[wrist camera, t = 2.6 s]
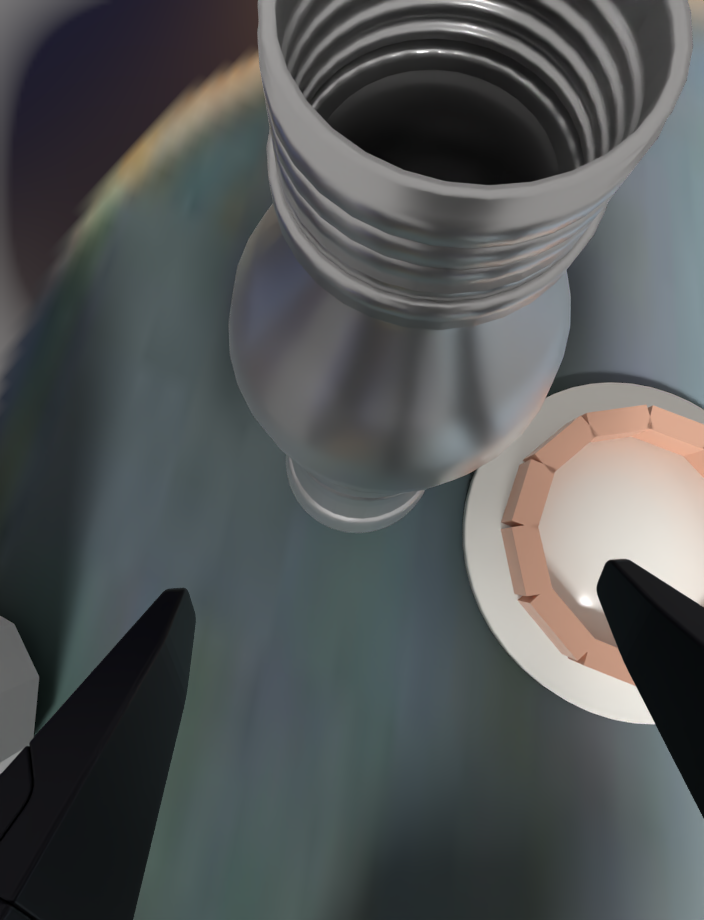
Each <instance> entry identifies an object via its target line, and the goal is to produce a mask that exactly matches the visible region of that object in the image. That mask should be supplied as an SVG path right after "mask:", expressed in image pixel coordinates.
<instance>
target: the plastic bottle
mask: <svg viewBox="0 0 704 920" xmlns="http://www.w3.org/2000/svg"><path fill="white" fill-rule="evenodd" d="M258 14H259V27H258V48H259V65H260V71H261V77H262V83H263V88H264V94H265V101H266V107H267V113H268V119H269V125H270V131H269V137H268V143H267V161H268V178H269V183H270V189H271V194H272V199H273V204H272V205H271V207H270V208H269V209H268V211H267V212H266V213H265V215H264V216H263V218H262V219H261V221H260V222H259V224H258V225H257V227H256V228H255V230H254V231H253V233H252V234H251V236H250V238H249V239H248V242H247V244H246V247H245V249H244V252H243V254H242V257H241V259H240V262H239V264H238V267H237V272H236V278H235V284H234V290H233V295H232V302H231V309H230V317H229V348H230V358H231V361H232V365H233V369H234V373H235V377H236V381H237V385H238V387H239V389H240V391H241V393H242V395H243V397H244V399H245V401H246V403H247V405H248V407H249V409H250V411H251V413H252V415H253V416H254V417H255V419H256V420H257V421H258V422H259V424H260V425H261V426H262V427H263V429H264V430H265V431H266V432H267V434H268V435H269V436H270V437H271V439H272V440H273V441H274V442H275V443H276V445H277V446H278V447H279V448H280V449H281V450H282V451H283V452H284V453H285V454H286V470H287V476H288V480H289V484H290V488H291V490H292V491H293V493H294V495H295V497H296V499H297V501H298V502H299V504H300V505H301V506H302V507H303V509H304V510H305V511H306V512H307V513H308V514H309V515H311V516H312V517H313V518H314V519H315V520H317V521H318V522H320V523H322V524H324V525H326V526H328V527H329V528H332V529H336V530H339V531H343V532H351V533H364V532H372V531H376V530H379V529H382V528H385V527H388V526H390V525H391V524H393V523H395V522H397V521H398V520H400V519H402V518H403V517H404V516H405V515H406V514H407V513H408V512H410V511H411V510H412V509H413V508H414V506H415V505H416V504H417V502H418V501H419V500H420V498H421V497H422V495H423V493H424V491H425V489H428V488H431V487H434V486H437V485H440V484H443V483H446V482H449V481H452V480H455V479H457V478H459V477H462V476H465V475H467V474H469V473H471V472H473V471H474V470H476V469H478V468H479V467H481V466H483V465H485V464H486V463H488V462H490V461H492V460H493V459H495V458H496V457H498V456H499V455H500V454H501V453H502V452H503V451H504V450H505V449H507V448H508V447H509V446H510V445H511V444H512V443H513V442H514V441H516V440H517V439H518V438H519V437H520V436H521V435H522V434H523V432H524V431H525V430H526V428H527V427H528V425H529V424H530V423H531V421H532V420H533V419H534V417H535V416H536V415H537V413H538V412H539V411H540V409H541V407H542V405H543V402H544V400H545V398H546V396H547V394H548V391H549V389H550V387H551V385H552V383H553V381H554V378H555V376H556V374H557V371H558V369H559V366H560V364H561V362H562V359H563V357H564V353H565V348H566V344H567V339H568V335H569V330H570V318H571V294H570V288H569V281H568V275H567V269H568V267H569V266H570V265H571V264H572V262H573V261H574V260H575V259H576V257H577V256H578V255H579V253H580V252H581V251H582V250H583V248H584V247H585V246H586V245H587V243H588V242H589V241H590V239H591V238H592V237H593V236H594V233H595V231H596V229H597V227H598V225H599V223H600V221H601V219H602V217H603V214H604V212H605V210H606V208H607V203H608V201H609V200H610V199H611V197H612V196H613V195H614V193H615V192H616V191H617V190H618V188H619V187H620V186H621V184H622V183H623V182H624V181H625V179H626V178H627V177H628V176H629V174H630V173H631V172H632V170H633V169H634V168H635V166H636V165H637V164H638V163H639V161H640V160H641V159H642V157H643V156H644V155H645V154H646V152H647V151H648V150H649V149H650V147H651V146H652V145H653V144H654V142H655V141H656V140H657V139H658V137H659V135H660V133H661V131H662V128H663V126H664V124H665V122H666V120H667V118H668V117H669V115H670V114H671V113H672V111H673V109H674V107H675V104H676V102H677V100H678V98H679V96H680V94H681V91H682V89H683V87H684V85H685V83H686V81H687V76H688V70H689V65H690V60H691V54H692V49H693V37H692V20H691V10H690V7H689V4H688V0H258Z"/></svg>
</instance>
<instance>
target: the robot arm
mask: <svg viewBox="0 0 704 920" xmlns="http://www.w3.org/2000/svg"><path fill="white" fill-rule="evenodd" d="M596 591H597V596H598V599H599V601H600V604H601V606H602V609H603V611H604V614H605V616H606V619H607V622H608V624H609V627H610V629H611V632H612V634H613V637H614V639H615V642H616V645H617V647H618V650H619V652H620V654H621V657H622V659H623V662H624V664H625V666H626V668H627V670H628V672H629V674H630V676H631V678H632V680H633V682H634V684H635V686H636V687H637V689H638V691H639V693H640V695H641V697H642V699H643V701H644V703H645V705H646V707H647V709H648V711H649V713H650V715H651V717H652V719H653V721H654V723H655V724H656V726H657V728H658V730H659V732H660V734H661V736H662V738H663V740H664V742H665V744H666V746H667V748H668V750H669V752H670V754H671V756H672V758H673V760H674V762H675V763H676V765H677V767H678V769H679V771H680V773H681V775H682V777H683V779H684V781H685V783H686V785H687V787H688V789H689V791H690V793H691V795H692V797H693V799H694V800H695V802H696V804H697V806H698V808H699V810H700V812H701V814H702V816H703V818H704V607H703V606H701V605H700V604H698V603H697V602H695V601H693V600H692V599H690V598H689V597H687V596H686V595H684V594H683V593H681V592H679V591H678V590H676V589H675V588H673V587H672V586H670V585H668V584H667V583H665V582H664V581H662V580H661V579H659V578H657V577H656V576H654V575H653V574H651V573H650V572H648V571H647V570H645V569H643V568H642V567H640V566H639V565H637V564H636V563H634V562H632V561H631V560H628V559H611V560H608V561H607V562H606V563H605V565H604V568H603V570H602V573H601V575H600V578H599V580H598V583H597V587H596ZM195 623H196V616H195V611H194V608H193V605H192V602H191V599H190V595H189V592H188V590H187V589H186V588H173V589H167V590H165V591H164V592H163V593H162V594H161V595H160V596H159V597H158V598H157V600H156V601H155V602H154V603H153V604H152V605H151V606H150V607H149V608H148V610H147V611H146V612H145V613H144V614H143V615H142V616H141V617H140V619H139V620H138V621H137V622H136V623H135V624H134V625H133V626H132V628H131V629H130V630H129V631H128V632H127V633H126V634H125V635H124V637H123V638H122V639H121V640H120V641H119V642H118V643H117V644H116V646H115V647H114V648H113V649H112V650H111V651H110V652H109V653H108V655H107V656H106V657H105V658H104V659H103V660H102V661H101V662H100V663H99V665H98V666H97V667H96V668H95V669H94V670H93V671H92V672H91V674H90V675H89V676H88V677H87V678H86V679H85V680H84V681H83V683H82V684H81V685H80V686H79V687H78V688H77V689H76V690H75V692H74V693H73V694H72V695H71V696H70V697H69V698H68V699H67V701H66V702H65V703H64V704H63V705H62V706H61V707H60V708H59V710H58V711H57V712H56V713H55V714H54V715H53V716H52V717H51V718H50V720H49V721H48V722H47V723H46V724H45V725H44V726H43V727H42V729H41V730H40V731H39V732H38V733H37V734H36V735H35V736H34V738H33V739H32V740H31V741H30V743H29V746H26V747H24V749H23V750H22V751H21V752H20V753H19V754H18V755H17V756H16V758H15V759H14V760H13V761H12V762H11V763H10V764H9V765H8V767H7V768H6V769H5V770H4V771H3V772H2V773H1V774H0V920H133V918H134V913H135V909H136V905H137V901H138V897H139V893H140V888H141V884H142V880H143V876H144V872H145V868H146V863H147V859H148V855H149V851H150V847H151V843H152V838H153V834H154V830H155V826H156V822H157V817H158V813H159V809H160V805H161V801H162V797H163V792H164V788H165V784H166V780H167V776H168V772H169V767H170V763H171V759H172V755H173V751H174V747H175V742H176V738H177V734H178V730H179V726H180V721H181V717H182V713H183V709H184V704H185V700H186V694H187V687H188V680H189V672H190V664H191V656H192V648H193V640H194V632H195Z"/></svg>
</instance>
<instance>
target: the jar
mask: <svg viewBox="0 0 704 920" xmlns="http://www.w3.org/2000/svg"><path fill="white" fill-rule="evenodd" d="M38 685H39V675H38V673H37V671H36V669H35V667H34V665H33V663H32V660H31V658H30V656H29V654H28V652H27V650H26V648H25V646H24V643H23V641H22V639H21V637H20V635H19V633H18V631H17V629H16V626H15V624H13V623H12V622H10V621H8V620H7V619H5V618H3V617H2V616H0V774H1V773H2V772H3V771H4V770H5V769H6V768H7V767H8V765H9V764H10V763H11V762H12V761H13V760H14V759H15V758H16V756H17V755H18V754H19V753H20V752H21V751H22V750H23V749H24V747H26V746H29V743H30V741H31V740H32V739H33V738H34V727H35V717H36V706H37V696H38Z"/></svg>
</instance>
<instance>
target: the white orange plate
mask: <svg viewBox="0 0 704 920" xmlns="http://www.w3.org/2000/svg"><path fill="white" fill-rule="evenodd" d="M462 545H463V553H464V561H465V567H466V571H467V575H468V579H469V583H470V587H471V590H472V592H473V595H474V597H475V600H476V603H477V605H478V608H479V610H480V612H481V614H482V616H483V617H484V619H485V621H486V623H487V625H488V627H489V628H490V630H491V632H492V633H493V635H494V636H495V637H496V639H497V640H498V642H499V643H500V644H501V646H502V647H503V649H504V650H505V651H506V652H507V653H508V654H509V655H510V657H511V658H512V659H513V660H514V661H515V662H516V663H517V664H518V665H519V666H520V667H521V668H522V669H523V670H524V671H525V672H526V673H528V674H529V675H530V676H531V677H532V678H534V679H535V680H536V681H537V682H538V683H540V684H541V685H543V686H544V687H546V688H547V689H549V690H550V691H552V692H553V693H555V694H556V695H558V696H559V697H561V698H563V699H564V700H566V701H568V702H570V703H572V704H574V705H576V706H578V707H580V708H582V709H584V710H586V711H588V712H591V713H594V714H597V715H600V716H603V717H606V718H609V719H613V720H618V721H624V722H629V723H635V724H655V723H654V721H653V719H652V717H651V715H650V713H649V711H648V709H647V707H646V705H645V703H644V701H643V699H642V697H641V695H640V693H639V691H638V689H637V687H636V686H635V684H634V682H633V680H632V678H631V676H630V674H629V672H628V670H627V668H626V666H625V664H624V662H623V659H622V657H621V654H620V652H619V650H618V647H617V645H616V642H615V639H614V637H613V634H612V632H611V629H610V627H609V624H608V622H607V619H606V616H605V614H604V611H603V609H602V606H601V604H600V601H599V599H598V596H597V591H596V587H597V583H598V580H599V578H600V575H601V573H602V570H603V568H604V565H605V563H606V562H607V561H608V560H611V559H628V560H631V561H632V562H634V563H636V564H637V565H639V566H640V567H642V568H643V569H645V570H647V571H648V572H650V573H651V574H653V575H654V576H656V577H657V578H659V579H661V580H662V581H664V582H665V583H667V584H668V585H670V586H672V587H673V588H675V589H676V590H678V591H679V592H681V593H683V594H684V595H686V596H687V597H689V598H690V599H692V600H693V601H695V602H697V603H698V604H700V605H701V606H703V607H704V410H703V409H702V408H700V407H698V406H697V405H695V404H693V403H691V402H690V401H687V400H685V399H683V398H681V397H678V396H676V395H674V394H671V393H668V392H665V391H662V390H659V389H656V388H652V387H648V386H642V385H637V384H631V383H614V382H609V383H594V384H587V385H582V386H577V387H572V388H569V389H566V390H564V391H561V392H558V393H555V394H553V395H551V396H549V397H547V398H545V400H544V402H543V405H542V407H541V409H540V411H539V412H538V413H537V415H536V416H535V417H534V419H533V420H532V421H531V423H530V424H529V425H528V427H527V428H526V430H525V431H524V432H523V434H522V435H521V436H520V437H519V438H518V439H517V440H516V441H514V442H513V443H512V444H511V445H510V446H509V447H508V448H507V449H505V450H504V451H503V452H502V453H501V454H500V455H499V456H498V457H496V458H495V459H493V460H492V461H490V462H488V463H486V464H485V465H483V466H481V467H479V468H478V469H476V470H475V472H474V475H473V477H472V480H471V482H470V486H469V489H468V493H467V497H466V500H465V507H464V514H463V522H462Z"/></svg>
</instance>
